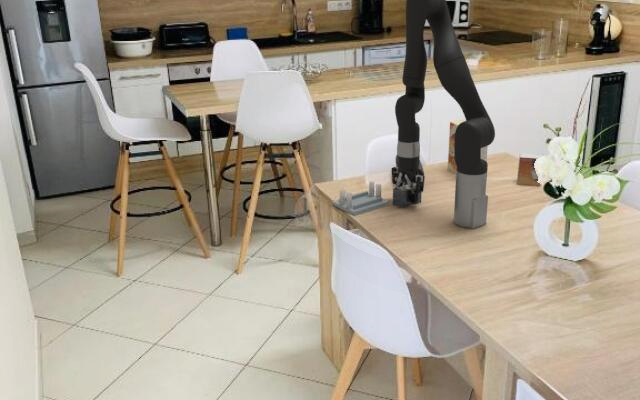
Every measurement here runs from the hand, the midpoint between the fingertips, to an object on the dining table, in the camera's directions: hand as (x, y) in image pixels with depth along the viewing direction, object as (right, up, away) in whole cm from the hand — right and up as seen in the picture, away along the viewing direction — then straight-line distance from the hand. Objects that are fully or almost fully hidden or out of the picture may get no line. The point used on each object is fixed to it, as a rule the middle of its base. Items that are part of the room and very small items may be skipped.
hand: (407, 200), depth 219 cm
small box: (+47, +6, +16) cm, 50 cm away
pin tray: (-16, -2, 0) cm, 16 cm away
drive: (0, -1, 0) cm, 1 cm away
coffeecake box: (+26, +10, +27) cm, 39 cm away
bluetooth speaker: (+4, +7, +21) cm, 23 cm away
